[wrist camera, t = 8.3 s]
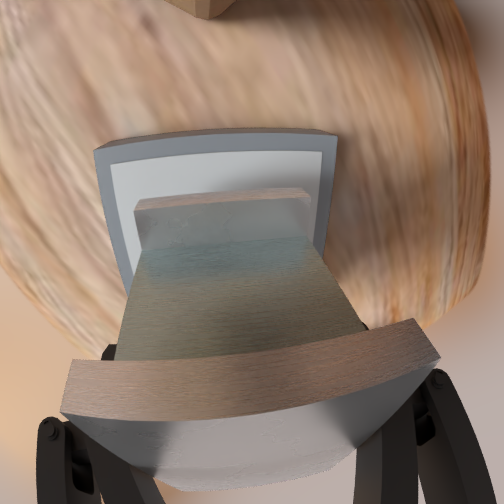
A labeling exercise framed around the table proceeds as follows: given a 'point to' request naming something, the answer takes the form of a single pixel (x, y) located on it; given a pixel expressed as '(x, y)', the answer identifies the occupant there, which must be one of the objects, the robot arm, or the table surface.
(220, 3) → the wooden block
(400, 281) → the table surface
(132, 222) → the stand
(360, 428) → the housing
